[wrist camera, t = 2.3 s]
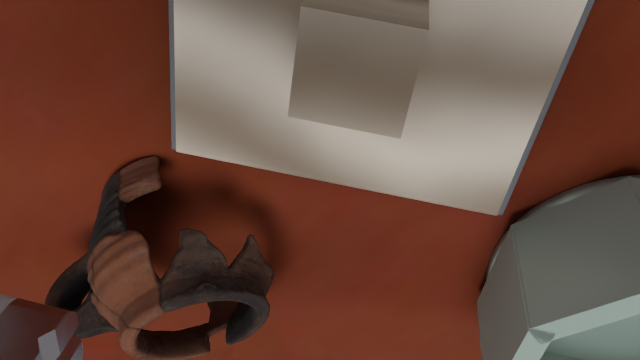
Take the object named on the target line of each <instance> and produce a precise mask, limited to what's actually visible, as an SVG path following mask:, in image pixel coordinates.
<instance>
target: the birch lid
mask: <svg viewBox="0 0 640 360" xmlns="http://www.w3.org/2000/svg"><path fill="white" fill-rule="evenodd" d="M587 1H588V0H174V58H175V119H176V152H181V153H186V154H191V155H196V156H201V157H206V158H211V159H216V160H220V161H225V162H230V163H235V164H240V165H245V166H250V167H255V168H260V169H265V170H270V171H275V172H280V173H285V174H290V175H295V176H300V177H305V178H310V179H315V180H320V181H325V182H330V183H335V184H340V185H345V186H350V187H355V188H360V189H365V190H370V191H375V192H380V193H385V194H390V195H395V196H400V197H405V198H410V199H415V200H420V201H425V202H430V203H435V204H440V205H445V206H450V207H455V208H460V209H465V210H470V211H475V212H480V213H485V214H490V215H495V216H497V214H498V212H499V210H500V207H501V205H502V202H503V200H504V198H505V195H506V193H507V191H508V188H509V186H510V184H511V181H512V179H513V176H514V174H515V172H516V169H517V167H518V165H519V162H520V160H521V158H522V155H523V153H524V150H525V148H526V146H527V143H528V141H529V139H530V136H531V134H532V132H533V129H534V127H535V124H536V122H537V120H538V117H539V115H540V113H541V110H542V108H543V106H544V103H545V101H546V98H547V96H548V94H549V91H550V89H551V87H552V84H553V82H554V80H555V77H556V75H557V72H558V70H559V68H560V65H561V63H562V61H563V58H564V56H565V54H566V51H567V49H568V46H569V44H570V42H571V39H572V37H573V35H574V32H575V30H576V28H577V25H578V23H579V20H580V18H581V16H582V13H583V11H584V9H585V6H586V4H587Z"/></svg>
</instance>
